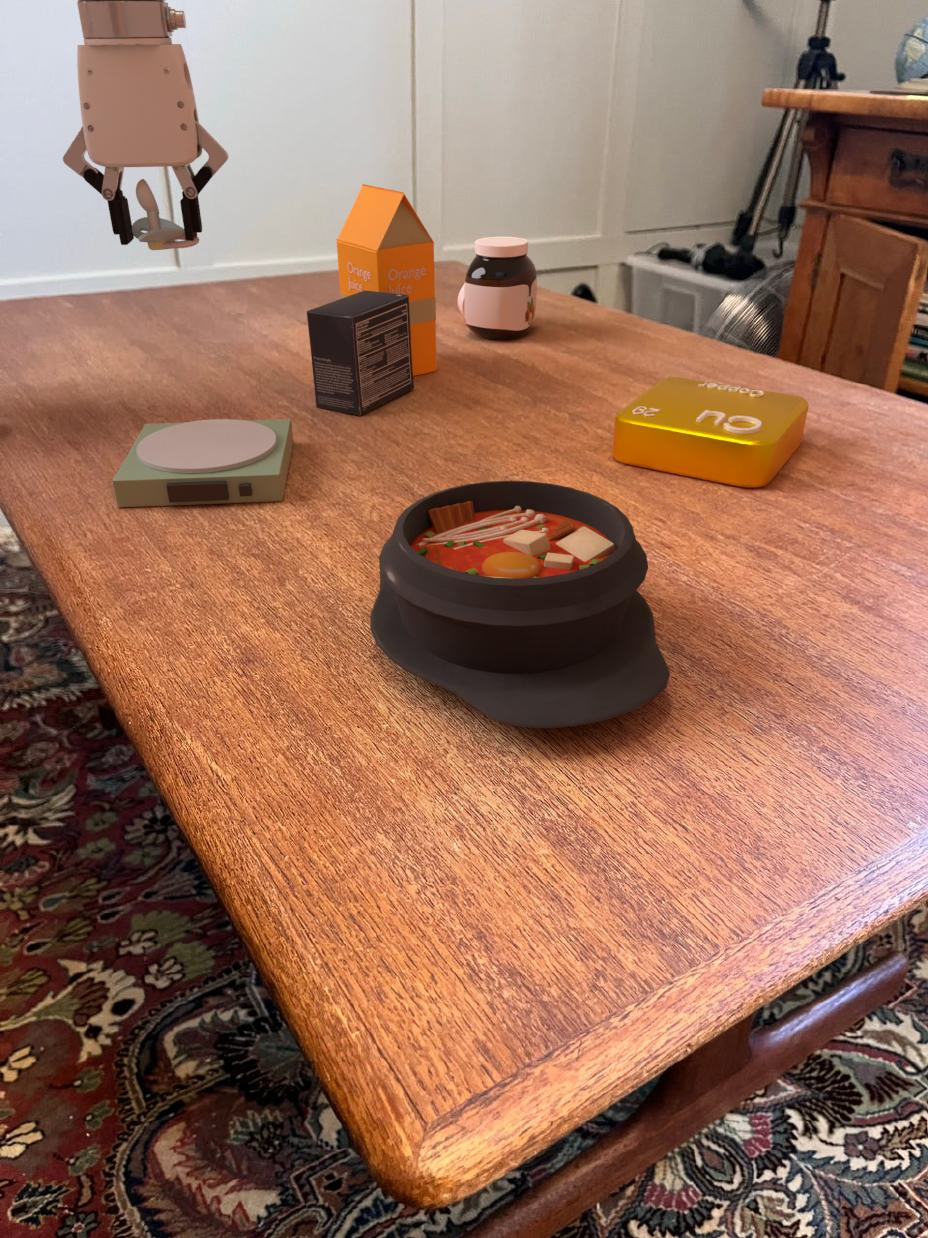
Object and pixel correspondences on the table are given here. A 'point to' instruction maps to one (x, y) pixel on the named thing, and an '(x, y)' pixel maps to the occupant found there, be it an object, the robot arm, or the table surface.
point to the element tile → (710, 431)
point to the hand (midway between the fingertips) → (159, 239)
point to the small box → (361, 351)
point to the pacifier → (157, 224)
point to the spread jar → (499, 289)
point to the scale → (206, 463)
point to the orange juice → (392, 263)
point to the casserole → (521, 603)
